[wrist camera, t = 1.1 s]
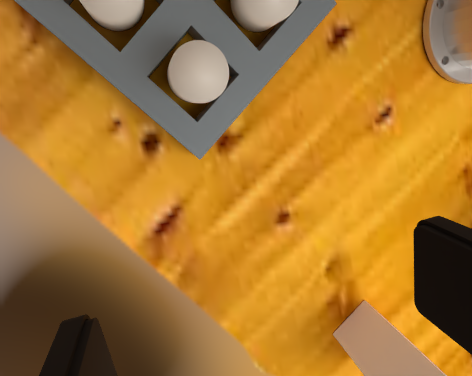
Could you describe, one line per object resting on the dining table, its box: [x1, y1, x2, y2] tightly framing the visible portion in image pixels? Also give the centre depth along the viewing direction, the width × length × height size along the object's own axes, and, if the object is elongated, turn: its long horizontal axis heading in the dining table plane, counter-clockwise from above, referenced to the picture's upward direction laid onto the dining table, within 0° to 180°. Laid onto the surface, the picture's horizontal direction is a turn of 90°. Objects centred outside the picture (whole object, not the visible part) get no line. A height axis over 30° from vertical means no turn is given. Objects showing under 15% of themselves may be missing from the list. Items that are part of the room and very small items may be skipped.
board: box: [15, 0, 337, 159], centre depth 27 cm, size 18×18×3 cm
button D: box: [167, 40, 229, 103], centre depth 26 cm, size 4×4×4 cm
